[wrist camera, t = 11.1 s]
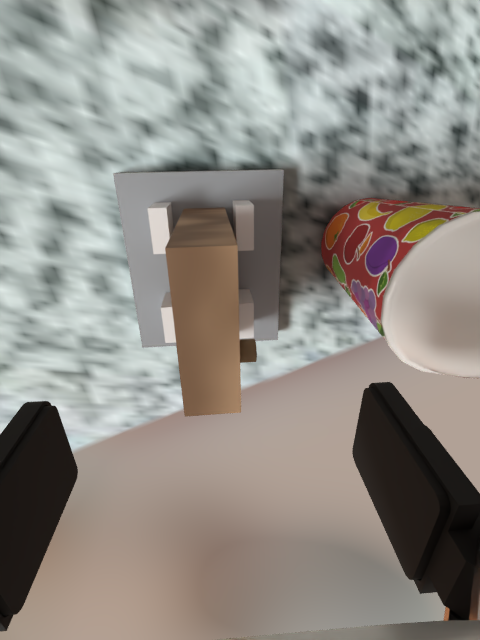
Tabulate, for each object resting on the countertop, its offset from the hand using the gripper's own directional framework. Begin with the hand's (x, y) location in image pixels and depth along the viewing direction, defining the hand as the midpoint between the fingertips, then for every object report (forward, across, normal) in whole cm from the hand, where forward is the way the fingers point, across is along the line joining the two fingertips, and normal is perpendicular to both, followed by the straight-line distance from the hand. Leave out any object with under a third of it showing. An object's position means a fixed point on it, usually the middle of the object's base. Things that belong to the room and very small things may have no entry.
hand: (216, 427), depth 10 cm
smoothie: (+20, -12, -1) cm, 23 cm away
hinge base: (+20, +1, +1) cm, 20 cm away
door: (+18, +1, +1) cm, 18 cm away
